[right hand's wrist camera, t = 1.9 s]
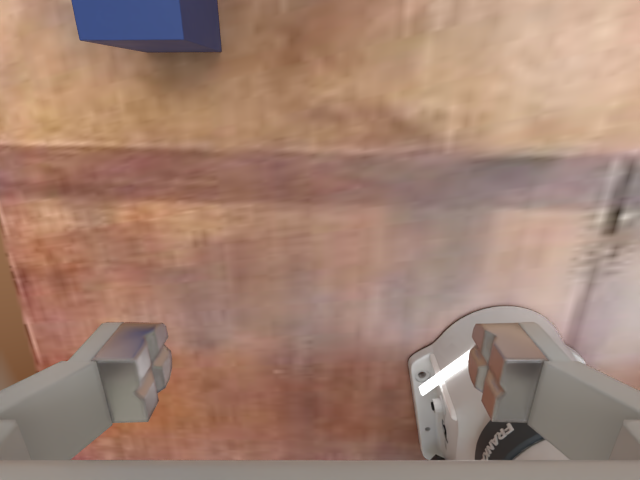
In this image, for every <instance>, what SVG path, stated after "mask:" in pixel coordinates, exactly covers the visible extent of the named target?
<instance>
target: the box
mask: <svg viewBox="0 0 640 480" xmlns="http://www.w3.org/2000/svg"><path fill="white" fill-rule="evenodd" d="M72 5H73V10H74V15H75V20H76V25H77V29H78V34H79V39H80V40H81V41H86V42H92V43H98V44H103V45H109V46H114V47H120V48H125V49H131V50H137V51H142V52H221V51H222V50H221V39H220V27H219V16H218V5H217V0H72Z"/></svg>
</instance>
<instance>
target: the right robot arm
mask: <svg viewBox="0 0 640 480" xmlns="http://www.w3.org/2000/svg"><path fill="white" fill-rule="evenodd" d="M167 338H168V333H167V328H166V326H165V325H164V324H163V323H139V322H125V323H124V322H106V323H102V324H101V325H100V326H99V327H98V328H97V330H96V331H95V332H94V333H93V334H92V335H91V336H90V337H89V338H88V339H87V340H86V342H85V343H84V344H83V345H82V346H81V347H80V348H79V349H78V350H77V351H76V353H75V354H74V355H73V356H72V357H71V358H70V359H69V360H68V361H61V362H59V363H57V364H55V365H52V366H50V367H48V368H46V369H44V370H42V371H40V372H38V373H36V374H34V375H32V376H30V377H28V378H26V379H24V380H22V381H20V382H18V383H16V384H13V385H11V386H9V387H7V388H5V389H3V390H1V391H0V480H640V391H639V390H637V389H635V388H633V387H630V386H628V385H626V384H624V383H622V382H620V381H618V380H616V379H614V378H612V377H610V376H608V375H606V374H604V373H602V372H600V371H598V370H596V369H594V368H592V367H590V366H588V365H586V363H585V361H584V360H583V358H582V357H581V356H580V354H579V353H578V352H576V351H575V350H574V349H572V348H571V347H569V346H567V345H566V344H565V343H564V341H563V340H562V338H561V336H560V335H559V333H558V331H557V329H556V328H555V327H554V325H553V324H552V323H551V322H550V321H549V320H548V319H547V318H545V317H544V316H542V315H541V314H539V313H537V312H535V311H532V310H530V309H526V308H522V307H516V306H497V307H491V308H486V309H482V310H479V311H476V312H474V313H471V314H469V315H467V316H465V317H463V318H461V319H460V320H458V321H457V322H455V323H454V324H453V325H451V326H450V327H449V328H448V329H447V330H446V331H445V332H444V333H443V334H442V335H441V336H440V337H439V338H438V339H437V340H436V341H435V342H434V343H433V344H432V345H430V346H428V347H426V348H424V349H422V350H420V351H418V352H416V353H415V354H413V355H412V356H411V357H410V359H409V361H408V367H409V374H410V381H411V388H412V394H413V401H414V408H415V415H416V422H417V429H418V436H419V443H420V448H421V451H422V454H423V456H424V458H426V459H428V460H70V459H72V458H73V457H74V456H75V455H76V454H78V453H79V452H80V451H81V450H82V449H84V448H85V447H86V446H87V445H89V444H90V443H91V442H92V441H93V440H95V439H96V438H97V437H98V436H99V435H101V434H102V433H103V432H104V431H105V430H107V429H108V428H109V427H110V426H112V423H124V422H148V421H149V419H150V417H151V415H152V413H153V411H154V409H155V407H156V405H157V403H158V401H159V399H158V394H157V393H158V392H160V391H161V390H163V389H164V388H166V385H167V383H168V381H169V379H170V375H171V370H172V356H171V351H170V350H169V349H168V348H167V347H166V346H165V345H164V343H165V342H166V340H167ZM420 372H423V373H421V374H419V373H420Z"/></svg>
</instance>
